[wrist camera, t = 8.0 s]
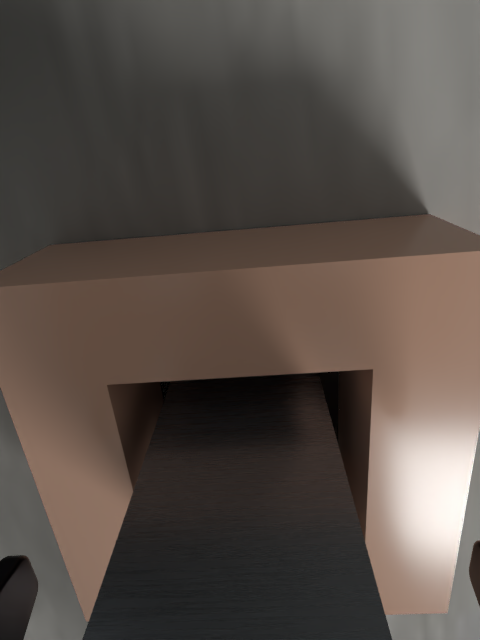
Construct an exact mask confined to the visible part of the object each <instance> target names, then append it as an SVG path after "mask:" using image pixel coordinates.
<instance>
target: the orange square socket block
mask: <svg viewBox="0 0 480 640" xmlns="http://www.w3.org/2000/svg"><path fill="white" fill-rule="evenodd" d="M334 371H339V381H338V446H339V450H340V453H341V457H342V460H343V464H344V468H345V471H346V475H347V478H348V482H349V486H350V489H351V493H352V497H353V500H354V504H355V507H356V511H357V515H358V518H359V522H360V525H361V529H362V533H363V536H364V540H365V544H366V547H367V551H368V554H369V558H370V562H371V565H372V569H373V572H374V576H375V580H376V583H377V587H378V591H379V594H380V598H381V601H382V605H383V609H384V612H385V615H393V614H437V613H448V608H449V602H450V596H451V590H452V584H453V579H454V573H455V567H456V561H457V555H458V549H459V544H460V538H461V532H462V526H463V520H464V515H465V509H466V503H467V497H468V491H469V486H470V480H471V474H472V468H473V462H474V457H475V451H476V445H477V439H478V433H479V428H480V235H477V234H475V233H473V232H470V231H468V230H466V229H463V228H461V227H459V226H456V225H454V224H452V223H449V222H447V221H445V220H442V219H440V218H438V217H435V216H433V215H431V214H426V215H413V216H401V217H388V218H376V219H364V220H351V221H339V222H327V223H314V224H302V225H290V226H277V227H265V228H252V229H240V230H228V231H215V232H203V233H191V234H178V235H166V236H153V237H141V238H129V239H116V240H104V241H92V242H79V243H67V244H55V245H49V246H47V247H45V248H43V249H41V250H39V251H37V252H35V253H34V254H32V255H30V256H28V257H26V258H24V259H22V260H20V261H18V262H16V263H14V264H12V265H11V266H9V267H7V268H5V269H3V270H1V271H0V388H1V390H2V393H3V396H4V399H5V401H6V404H7V407H8V410H9V412H10V415H11V418H12V420H13V423H14V426H15V429H16V431H17V434H18V437H19V439H20V442H21V445H22V448H23V450H24V453H25V456H26V459H27V461H28V464H29V467H30V469H31V472H32V475H33V478H34V480H35V483H36V486H37V488H38V491H39V494H40V497H41V499H42V502H43V505H44V508H45V510H46V513H47V516H48V518H49V521H50V524H51V527H52V529H53V532H54V535H55V537H56V540H57V543H58V546H59V548H60V551H61V554H62V557H63V559H64V562H65V565H66V567H67V570H68V573H69V576H70V578H71V581H72V584H73V586H74V589H75V592H76V595H77V597H78V600H79V603H80V605H81V608H82V611H83V614H84V616H85V619H86V621H89V619H90V616H91V614H92V611H93V608H94V605H95V602H96V599H97V596H98V593H99V590H100V587H101V584H102V581H103V578H104V575H105V573H106V570H107V567H108V564H109V561H110V558H111V555H112V552H113V549H114V546H115V543H116V540H117V537H118V534H119V532H120V529H121V526H122V523H123V520H124V517H125V514H126V511H127V508H128V505H129V502H130V499H131V496H132V493H133V491H134V488H135V485H136V482H137V479H138V476H139V473H140V470H141V467H142V464H143V461H144V458H145V455H146V452H147V450H148V447H149V444H150V441H151V438H152V435H153V432H154V429H155V426H156V423H157V420H158V417H159V414H160V411H161V409H162V406H163V403H164V401H163V396H162V390H161V385H160V382H164V381H181V380H198V379H215V378H232V377H249V376H266V375H283V374H300V373H317V372H334Z"/></svg>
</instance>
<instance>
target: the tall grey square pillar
mask: <svg viewBox="0 0 480 640" xmlns="http://www.w3.org/2000/svg"><path fill="white" fill-rule="evenodd" d="M83 640H392V638H391V634H390V630H389V627H388V623H387V620H386V616H385V612H384V609H383V605H382V601H381V598H380V594H379V591H378V587H377V583H376V580H375V576H374V572H373V569H372V565H371V562H370V558H369V554H368V551H367V547H366V544H365V540H364V536H363V533H362V529H361V525H360V522H359V518H358V515H357V511H356V507H355V504H354V500H353V497H352V493H351V489H350V486H349V482H348V478H347V475H346V471H345V468H344V464H343V460H342V457H341V453H340V450H339V446H338V442H337V439H336V435H335V431H334V428H333V424H332V421H331V417H330V413H329V410H328V406H327V402H326V399H325V395H324V392H323V388H322V384H321V381H320V377H319V374H318V372H317V373H300V374H283V375H266V376H249V377H232V378H215V379H198V380H181V381H171V382H170V385H169V388H168V391H167V394H166V397H165V400H164V403H163V406H162V409H161V411H160V414H159V417H158V420H157V423H156V426H155V429H154V432H153V435H152V438H151V441H150V444H149V447H148V450H147V452H146V455H145V458H144V461H143V464H142V467H141V470H140V473H139V476H138V479H137V482H136V485H135V488H134V491H133V493H132V496H131V499H130V502H129V505H128V508H127V511H126V514H125V517H124V520H123V523H122V526H121V529H120V532H119V534H118V537H117V540H116V543H115V546H114V549H113V552H112V555H111V558H110V561H109V564H108V567H107V570H106V573H105V575H104V578H103V581H102V584H101V587H100V590H99V593H98V596H97V599H96V602H95V605H94V608H93V611H92V614H91V616H90V619H89V622H88V625H87V628H86V631H85V634H84V637H83Z"/></svg>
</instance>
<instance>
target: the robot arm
mask: <svg viewBox="0 0 480 640" xmlns="http://www.w3.org/2000/svg"><path fill="white" fill-rule="evenodd" d="M469 575H470V580H471V583H472V586H473V589H474V592H475V594H476V597H477V600H478V603H479V606H480V541H476V542H475V543H474V546H473V551H472V556H471V561H470V567H469ZM37 592H38V580H37V578H36V575H35V573H34V570H33V568H32V566H31V563H30V561H29V559H28V557H26V556H24V555H20V556H7V557H5V558H3V559H2V560H1V561H0V640H23V639H24V635H25V632H26V629H27V626H28V622H29V619H30V616H31V612H32V609H33V606H34V603H35V599H36V596H37Z"/></svg>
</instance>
